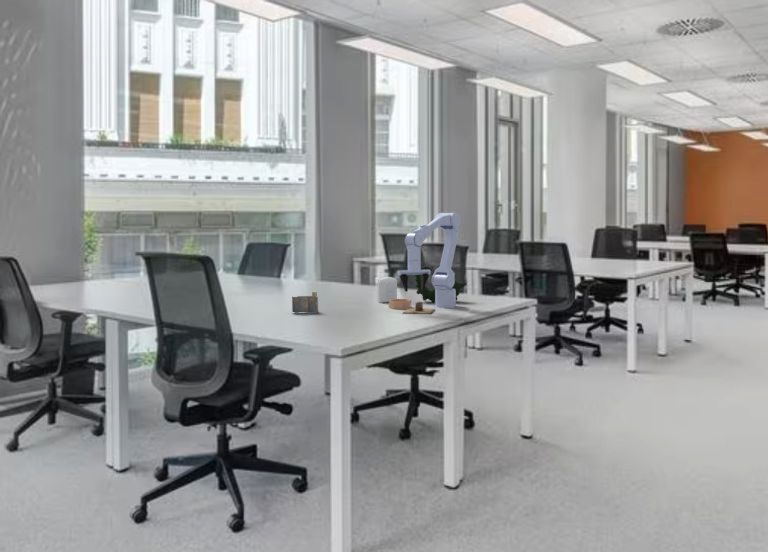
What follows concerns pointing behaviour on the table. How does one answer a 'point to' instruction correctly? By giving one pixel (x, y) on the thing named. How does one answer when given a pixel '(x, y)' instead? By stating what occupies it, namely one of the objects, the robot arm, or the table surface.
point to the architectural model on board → (305, 303)
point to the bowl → (399, 303)
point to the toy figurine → (431, 292)
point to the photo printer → (387, 289)
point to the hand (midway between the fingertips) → (414, 291)
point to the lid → (418, 309)
